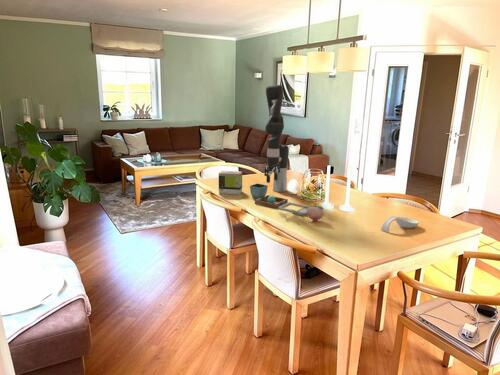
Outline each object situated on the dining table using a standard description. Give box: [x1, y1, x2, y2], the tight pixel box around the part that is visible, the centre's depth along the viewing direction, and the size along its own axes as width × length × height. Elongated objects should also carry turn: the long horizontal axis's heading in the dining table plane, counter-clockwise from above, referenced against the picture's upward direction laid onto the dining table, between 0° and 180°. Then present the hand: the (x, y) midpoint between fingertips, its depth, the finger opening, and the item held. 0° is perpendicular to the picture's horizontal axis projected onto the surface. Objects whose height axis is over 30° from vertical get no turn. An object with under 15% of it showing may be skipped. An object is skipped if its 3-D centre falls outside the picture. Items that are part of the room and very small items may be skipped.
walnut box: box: [254, 194, 289, 209], centre depth 233 cm, size 15×15×3 cm
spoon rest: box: [380, 215, 420, 234], centre depth 197 cm, size 24×12×7 cm, turn 122°
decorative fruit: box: [306, 203, 324, 222], centre depth 205 cm, size 9×8×10 cm
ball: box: [268, 195, 276, 203], centre depth 233 cm, size 5×5×5 cm
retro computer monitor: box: [218, 170, 243, 196], centre depth 257 cm, size 15×10×15 cm
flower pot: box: [249, 182, 268, 200], centre depth 245 cm, size 9×9×9 cm
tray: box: [277, 201, 309, 217], centre depth 223 cm, size 14×18×2 cm
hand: (271, 181), depth 230 cm, fingers open, 8 cm apart
